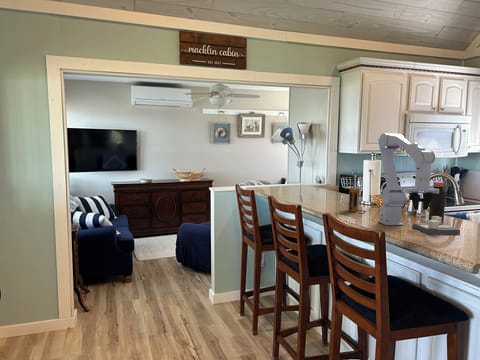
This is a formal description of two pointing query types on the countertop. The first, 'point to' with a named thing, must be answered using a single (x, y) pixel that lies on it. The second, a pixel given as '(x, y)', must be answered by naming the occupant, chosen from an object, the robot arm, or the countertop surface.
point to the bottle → (438, 201)
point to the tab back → (436, 218)
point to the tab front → (433, 224)
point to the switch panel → (442, 229)
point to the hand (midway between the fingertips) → (420, 209)
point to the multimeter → (354, 198)
